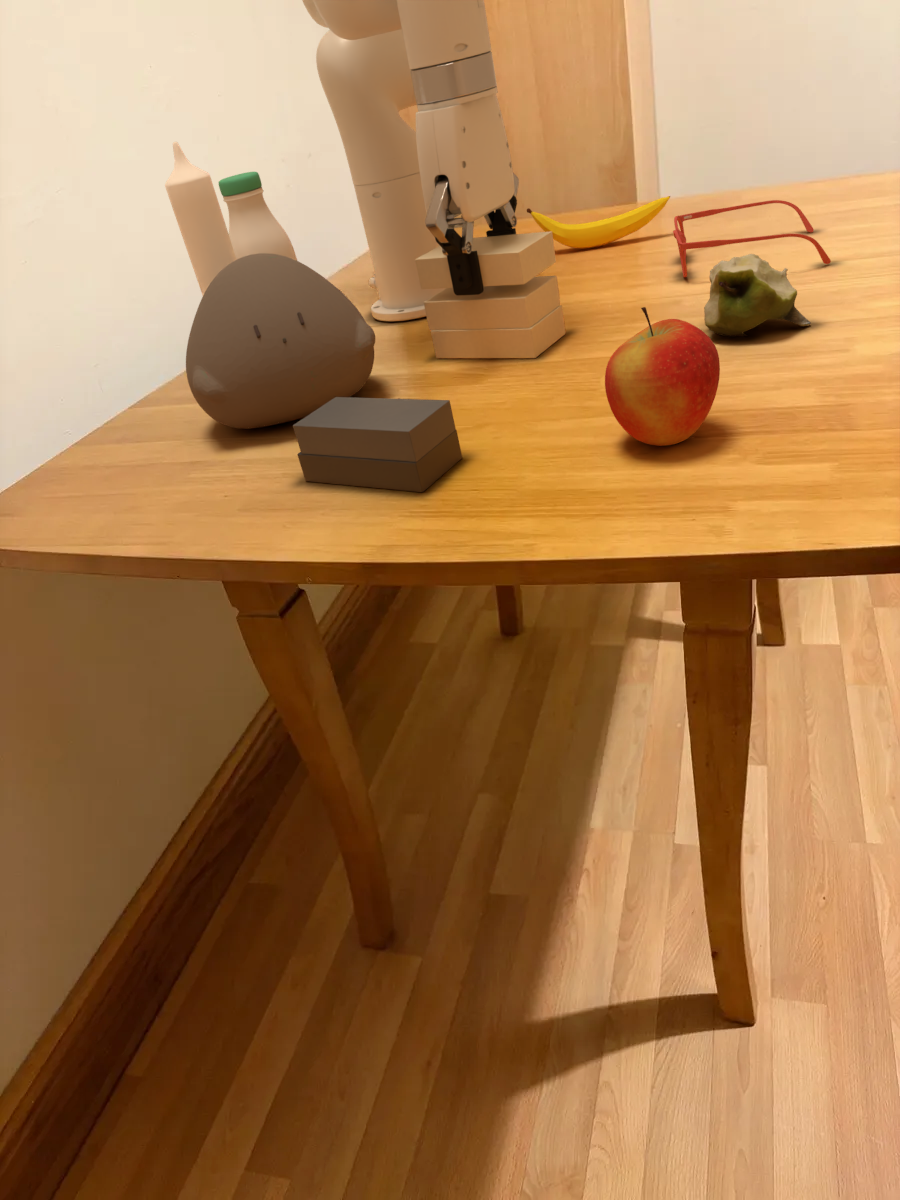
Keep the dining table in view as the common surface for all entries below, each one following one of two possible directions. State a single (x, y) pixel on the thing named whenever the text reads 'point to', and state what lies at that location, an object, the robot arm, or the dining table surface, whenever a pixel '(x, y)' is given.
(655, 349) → the apple
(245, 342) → the decorative object
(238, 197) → the milk bottle
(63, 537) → the dining table surface
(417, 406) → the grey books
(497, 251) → the cream rectangular block
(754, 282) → the fruit
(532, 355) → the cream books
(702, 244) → the red eyeglasses
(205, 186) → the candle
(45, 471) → the dining table surface
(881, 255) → the dining table surface
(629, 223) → the banana
